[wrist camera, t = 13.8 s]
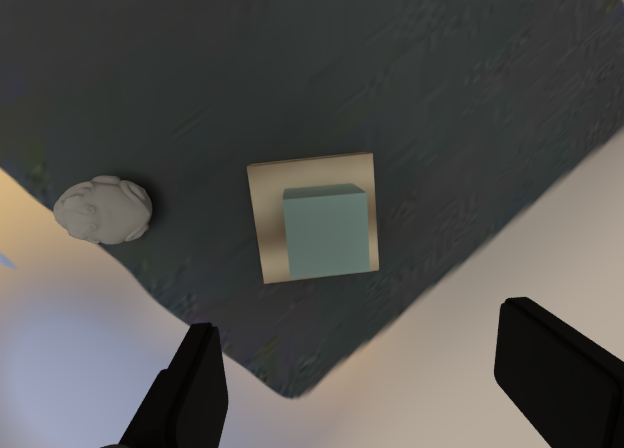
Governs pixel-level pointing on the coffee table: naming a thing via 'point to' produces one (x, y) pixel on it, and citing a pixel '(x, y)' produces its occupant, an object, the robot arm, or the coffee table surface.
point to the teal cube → (326, 230)
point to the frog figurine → (104, 210)
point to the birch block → (294, 174)
